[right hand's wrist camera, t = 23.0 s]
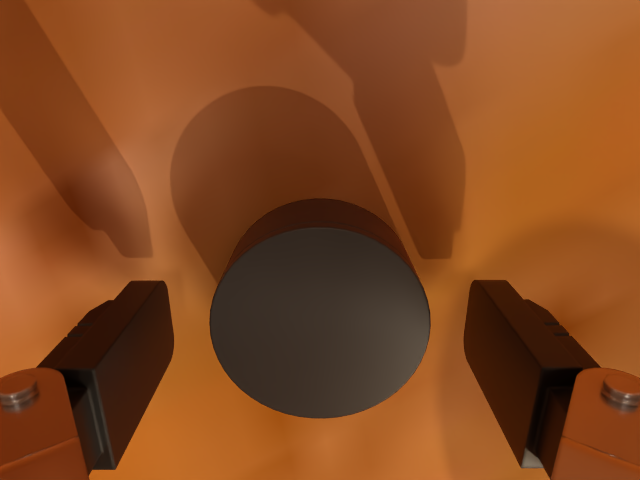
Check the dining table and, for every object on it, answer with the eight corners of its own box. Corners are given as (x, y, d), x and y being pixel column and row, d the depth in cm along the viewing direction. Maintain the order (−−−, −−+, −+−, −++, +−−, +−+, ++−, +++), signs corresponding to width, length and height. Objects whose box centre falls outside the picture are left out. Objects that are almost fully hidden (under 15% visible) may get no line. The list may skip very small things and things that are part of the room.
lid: (331, 157, 11) (334, 178, 9) (448, 296, 13) (474, 342, 11) (189, 277, 12) (162, 320, 10) (310, 392, 14) (308, 451, 12)
